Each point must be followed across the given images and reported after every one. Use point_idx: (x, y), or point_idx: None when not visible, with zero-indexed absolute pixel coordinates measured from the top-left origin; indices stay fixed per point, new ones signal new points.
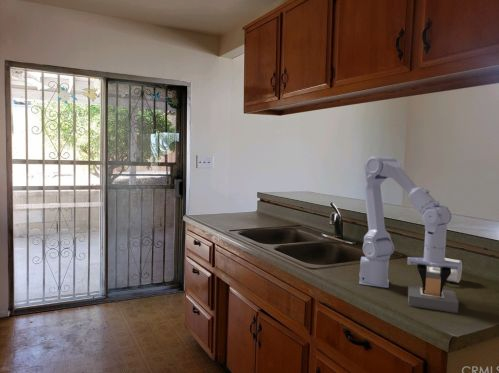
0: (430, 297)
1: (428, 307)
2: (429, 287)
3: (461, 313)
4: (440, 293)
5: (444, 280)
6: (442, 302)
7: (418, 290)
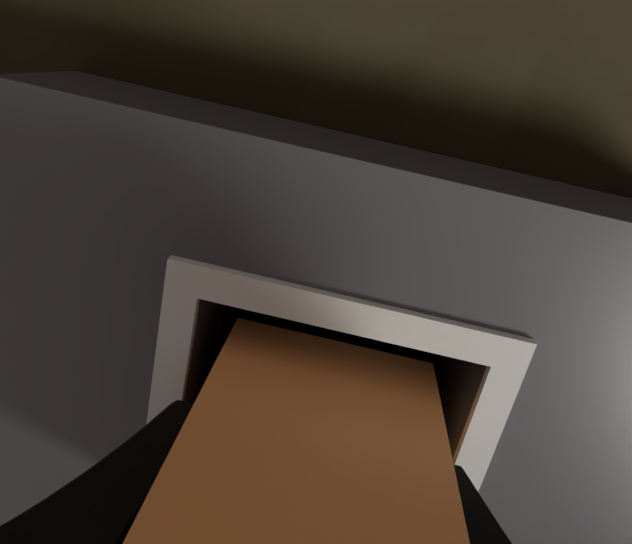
0: (403, 253)
1: (437, 154)
2: (383, 460)
3: None
4: None
5: (18, 541)
6: (243, 128)
7: None
